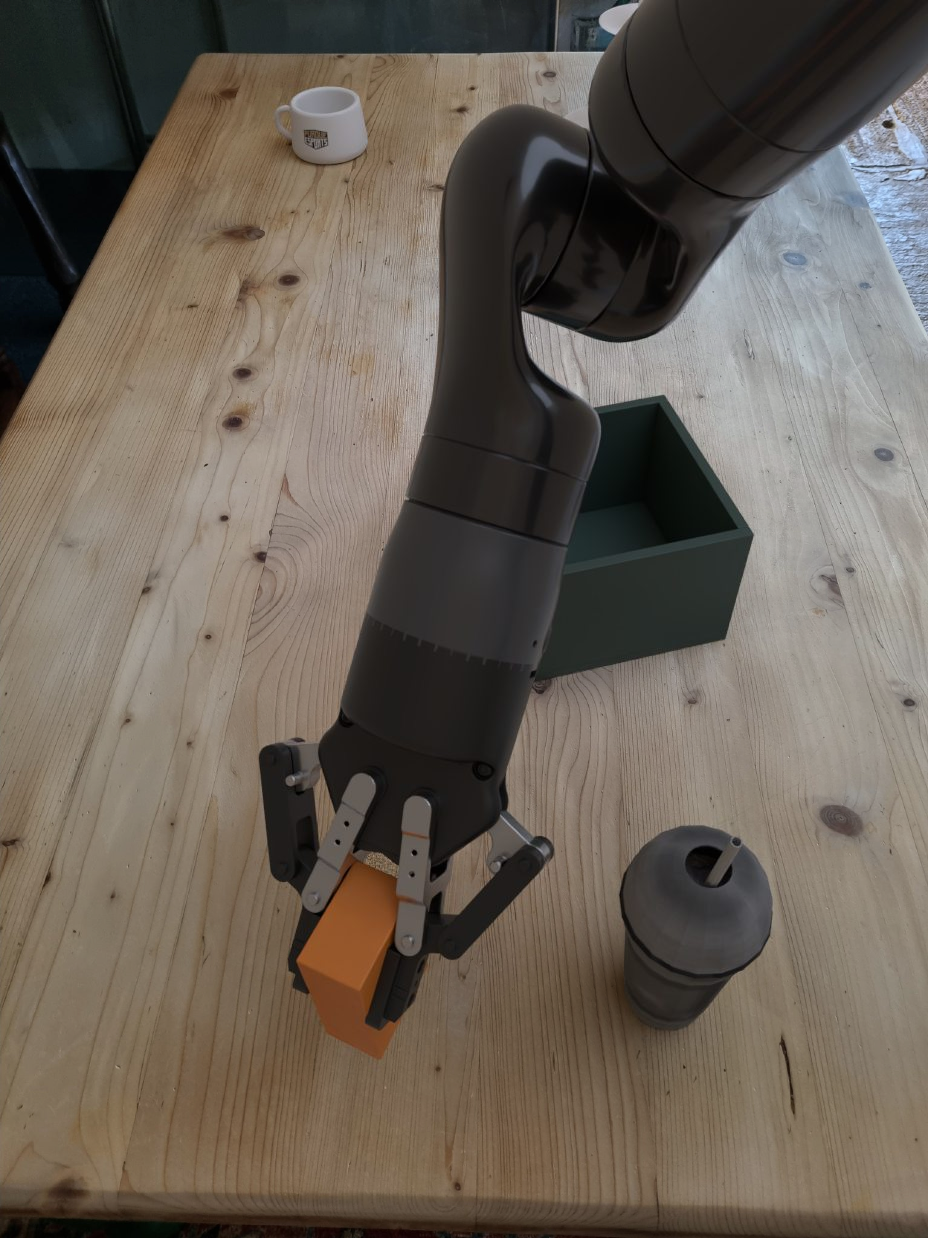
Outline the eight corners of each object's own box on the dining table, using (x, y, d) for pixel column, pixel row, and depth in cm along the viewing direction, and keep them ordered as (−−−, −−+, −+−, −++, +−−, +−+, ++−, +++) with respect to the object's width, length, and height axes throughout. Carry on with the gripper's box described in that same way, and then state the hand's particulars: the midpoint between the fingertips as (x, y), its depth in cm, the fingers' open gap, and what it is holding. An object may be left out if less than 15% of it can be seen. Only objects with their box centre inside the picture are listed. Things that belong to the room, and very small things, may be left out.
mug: (378, 135, 129) (373, 86, 124) (355, 169, 123) (349, 119, 118) (291, 128, 131) (284, 79, 126) (264, 161, 125) (256, 111, 120)
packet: (428, 965, 49) (416, 885, 42) (380, 1061, 46) (358, 992, 39) (375, 941, 50) (355, 858, 43) (325, 1033, 47) (294, 961, 40)
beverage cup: (704, 919, 59) (777, 730, 44) (748, 1044, 54) (846, 881, 39) (586, 940, 58) (617, 756, 43) (619, 1069, 54) (668, 913, 38)
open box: (725, 639, 73) (754, 534, 65) (522, 684, 71) (525, 582, 62) (648, 499, 83) (664, 393, 74) (467, 536, 80) (464, 430, 72)
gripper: (266, 576, 40) (161, 968, 42) (597, 692, 35) (461, 1121, 38) (348, 578, 47) (254, 912, 49) (631, 675, 42) (515, 1036, 45)
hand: (345, 1001), depth 43 cm, fingers closed on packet, 3 cm apart
